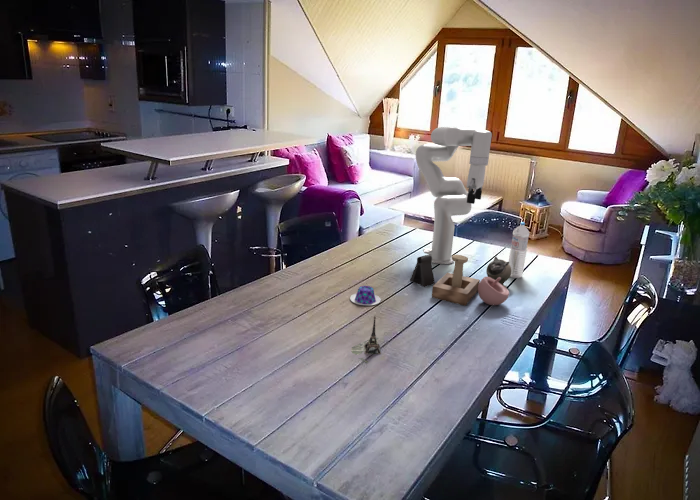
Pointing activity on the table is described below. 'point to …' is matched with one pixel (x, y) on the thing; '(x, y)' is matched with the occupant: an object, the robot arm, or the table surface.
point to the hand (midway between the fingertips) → (473, 201)
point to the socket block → (455, 290)
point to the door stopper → (423, 271)
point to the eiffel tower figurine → (368, 345)
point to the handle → (458, 270)
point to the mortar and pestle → (492, 291)
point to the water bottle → (518, 250)
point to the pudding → (365, 296)
